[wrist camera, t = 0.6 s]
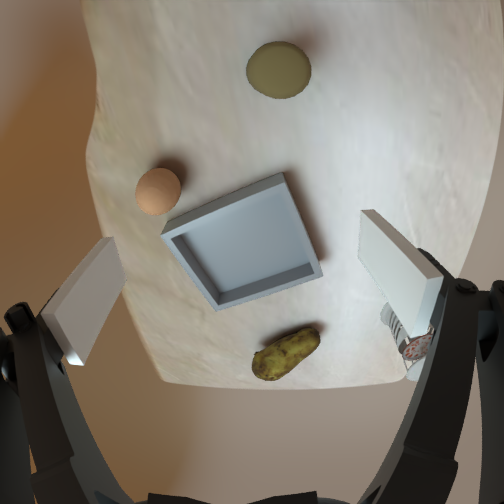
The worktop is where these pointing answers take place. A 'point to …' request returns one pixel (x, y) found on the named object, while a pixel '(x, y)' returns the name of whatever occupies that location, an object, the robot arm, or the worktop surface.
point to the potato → (284, 354)
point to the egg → (158, 191)
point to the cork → (279, 70)
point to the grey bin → (244, 244)
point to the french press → (413, 349)
